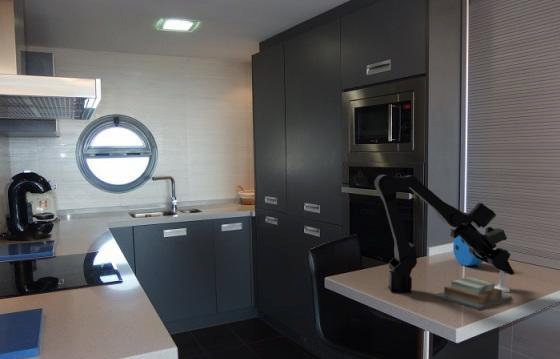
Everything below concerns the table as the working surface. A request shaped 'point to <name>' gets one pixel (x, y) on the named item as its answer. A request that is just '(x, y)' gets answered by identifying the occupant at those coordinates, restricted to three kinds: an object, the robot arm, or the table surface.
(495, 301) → the baseplate
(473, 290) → the stacked blocks
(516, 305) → the table surface
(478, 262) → the alarm clock
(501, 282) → the chess piece
